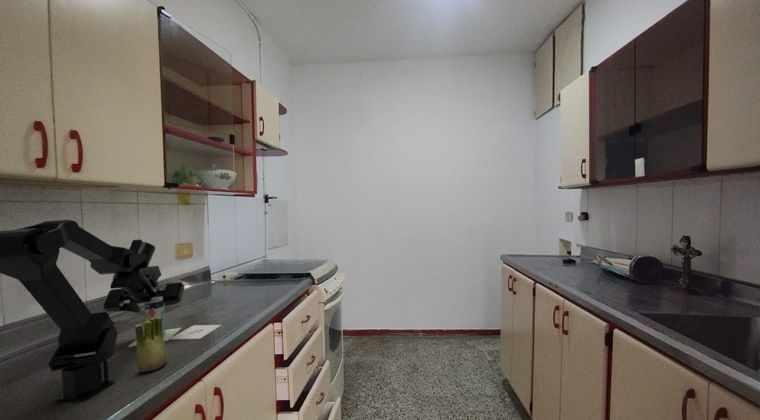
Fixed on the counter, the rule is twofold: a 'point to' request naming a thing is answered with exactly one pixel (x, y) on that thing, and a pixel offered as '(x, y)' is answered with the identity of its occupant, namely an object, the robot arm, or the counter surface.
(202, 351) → the counter surface
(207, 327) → the card
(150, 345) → the fennel bulb
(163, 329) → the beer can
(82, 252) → the robot arm
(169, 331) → the sage mat
